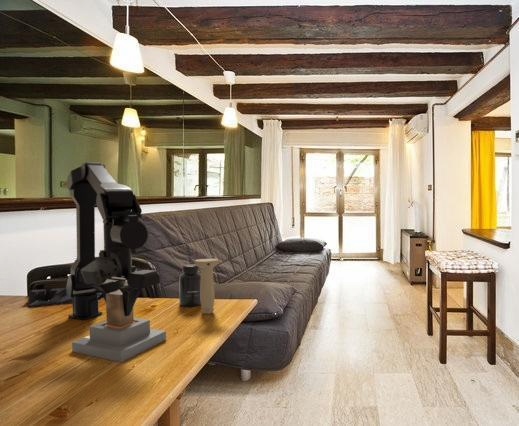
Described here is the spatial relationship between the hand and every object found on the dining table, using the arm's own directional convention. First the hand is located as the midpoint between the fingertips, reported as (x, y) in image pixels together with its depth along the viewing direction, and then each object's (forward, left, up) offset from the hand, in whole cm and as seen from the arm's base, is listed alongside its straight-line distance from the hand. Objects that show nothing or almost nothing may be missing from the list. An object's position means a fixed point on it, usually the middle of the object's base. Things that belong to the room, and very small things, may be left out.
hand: (119, 314), depth 91 cm
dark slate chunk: (-47, +24, -8) cm, 54 cm away
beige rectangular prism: (0, 0, -2) cm, 2 cm away
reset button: (0, 0, -5) cm, 5 cm away
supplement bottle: (-6, +35, -7) cm, 36 cm away
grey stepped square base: (0, 0, -7) cm, 7 cm away
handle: (+4, +29, -7) cm, 30 cm away
